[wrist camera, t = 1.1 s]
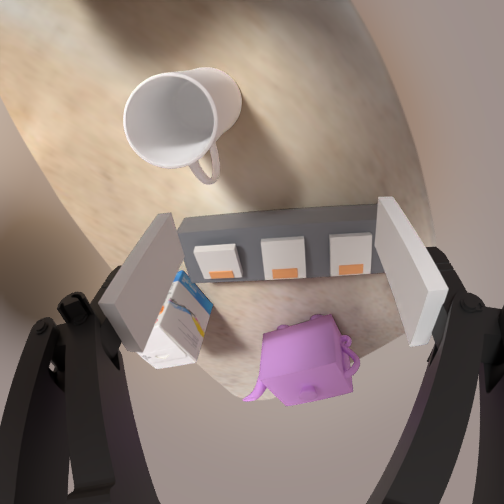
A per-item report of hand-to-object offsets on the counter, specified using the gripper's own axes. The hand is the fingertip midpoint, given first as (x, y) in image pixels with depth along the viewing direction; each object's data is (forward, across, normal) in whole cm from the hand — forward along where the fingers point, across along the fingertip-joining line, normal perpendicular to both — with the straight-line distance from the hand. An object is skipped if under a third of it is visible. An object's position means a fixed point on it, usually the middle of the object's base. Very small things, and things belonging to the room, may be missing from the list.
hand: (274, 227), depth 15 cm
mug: (+22, -8, +3) cm, 24 cm away
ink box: (+22, -19, -24) cm, 38 cm away
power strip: (+22, -4, -14) cm, 26 cm away
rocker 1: (+17, -9, -14) cm, 23 cm away
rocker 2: (+17, -1, -14) cm, 22 cm away
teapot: (+22, 0, -35) cm, 41 cm away
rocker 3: (+17, +7, -14) cm, 23 cm away
